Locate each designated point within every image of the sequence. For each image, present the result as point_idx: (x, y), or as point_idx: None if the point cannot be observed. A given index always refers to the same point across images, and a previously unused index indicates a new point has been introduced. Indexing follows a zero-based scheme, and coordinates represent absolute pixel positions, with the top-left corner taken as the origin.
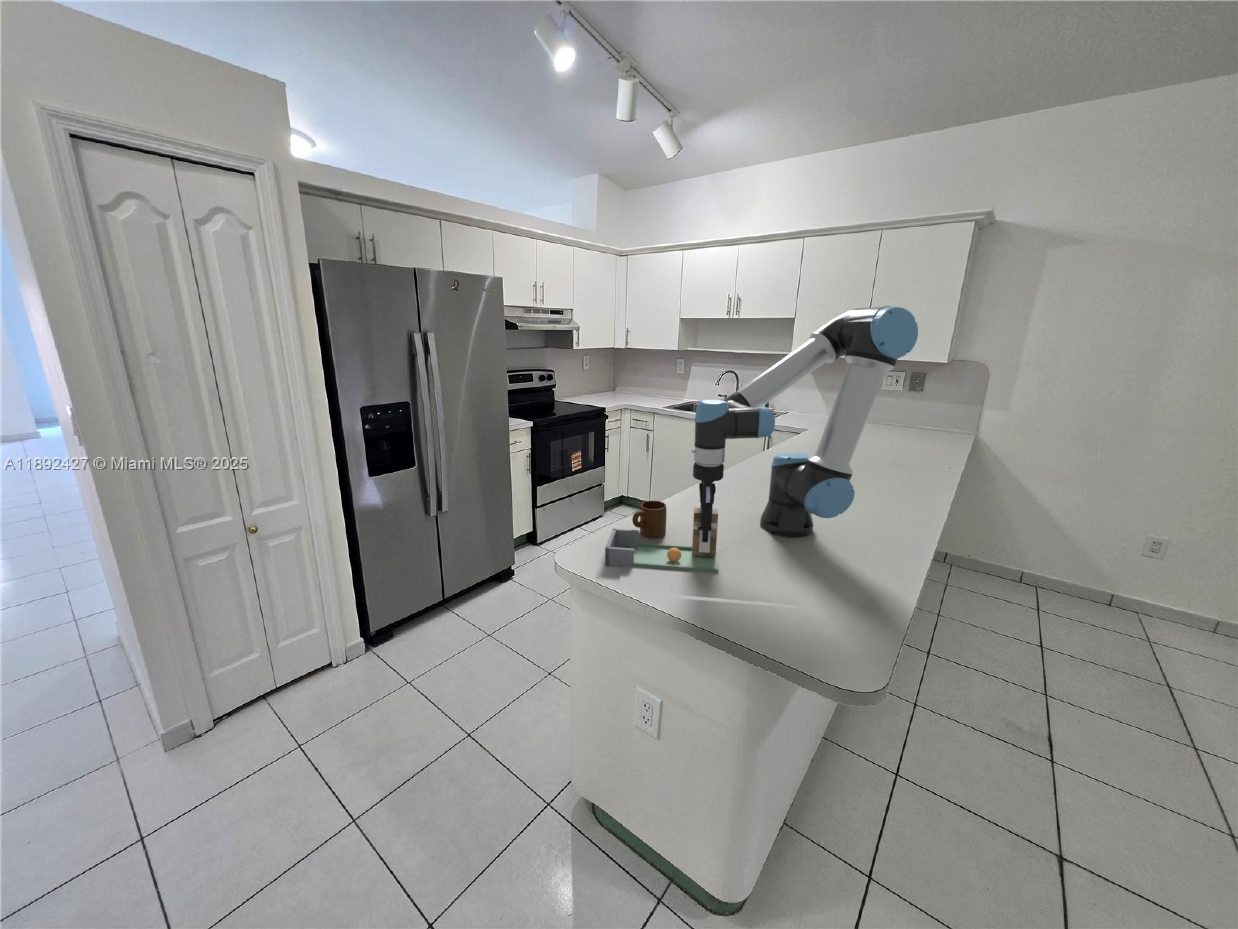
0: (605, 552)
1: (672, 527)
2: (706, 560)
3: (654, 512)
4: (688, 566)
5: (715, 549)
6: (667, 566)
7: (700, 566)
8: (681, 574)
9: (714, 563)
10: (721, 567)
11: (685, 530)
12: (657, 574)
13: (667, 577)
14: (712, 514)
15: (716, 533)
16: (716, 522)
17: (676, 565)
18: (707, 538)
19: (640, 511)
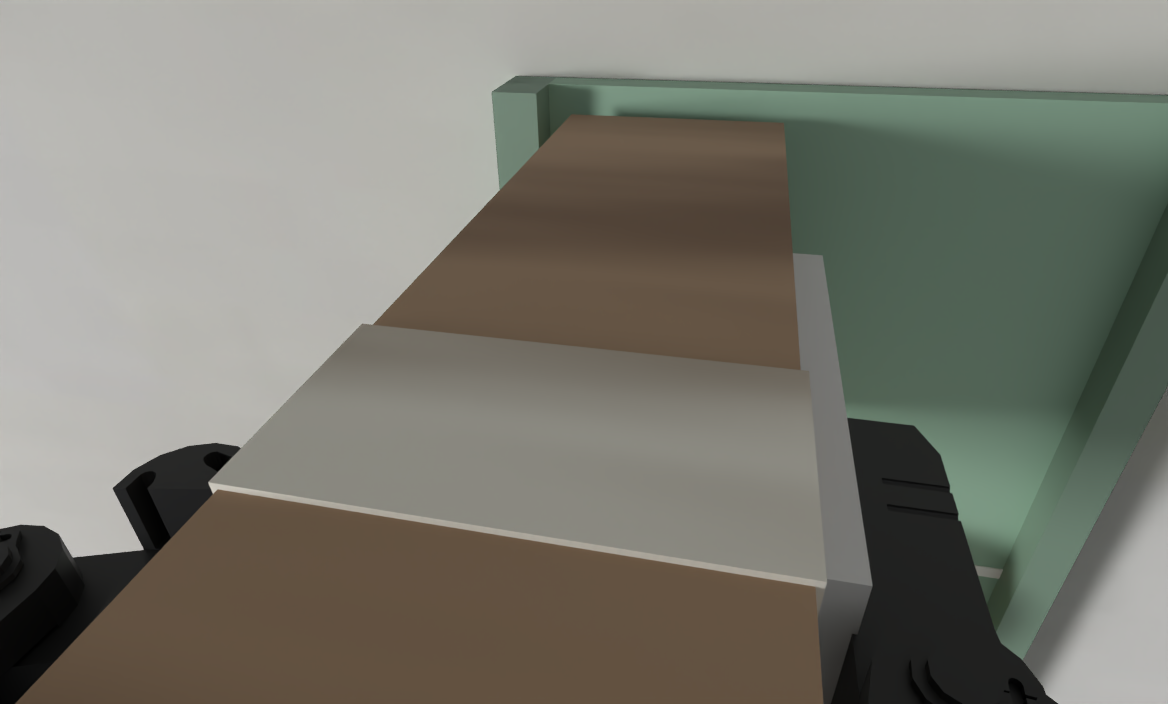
0: None
1: (109, 460)
2: (832, 244)
3: None
4: (1081, 499)
5: (782, 169)
6: (1017, 654)
7: (1006, 335)
8: (1110, 517)
9: (933, 140)
10: (995, 19)
11: (103, 364)
12: (1063, 681)
13: (1148, 628)
14: None
15: (792, 332)
16: (814, 658)
17: (1027, 596)
18: (953, 507)
19: None
